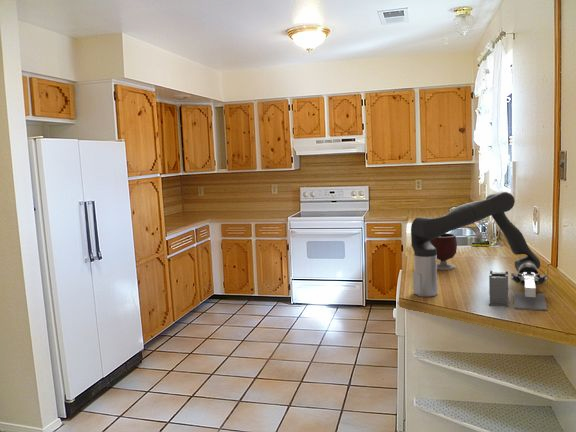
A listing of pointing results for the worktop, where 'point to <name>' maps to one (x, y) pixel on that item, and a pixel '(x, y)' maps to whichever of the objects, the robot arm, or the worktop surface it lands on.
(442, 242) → the mate gourd
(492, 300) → the rack
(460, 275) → the worktop surface
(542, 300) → the mat
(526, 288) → the rail
